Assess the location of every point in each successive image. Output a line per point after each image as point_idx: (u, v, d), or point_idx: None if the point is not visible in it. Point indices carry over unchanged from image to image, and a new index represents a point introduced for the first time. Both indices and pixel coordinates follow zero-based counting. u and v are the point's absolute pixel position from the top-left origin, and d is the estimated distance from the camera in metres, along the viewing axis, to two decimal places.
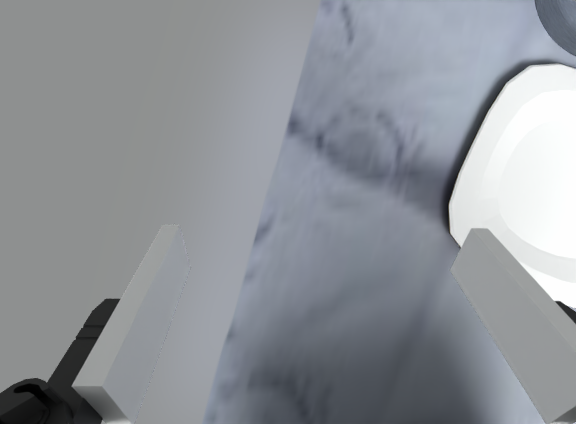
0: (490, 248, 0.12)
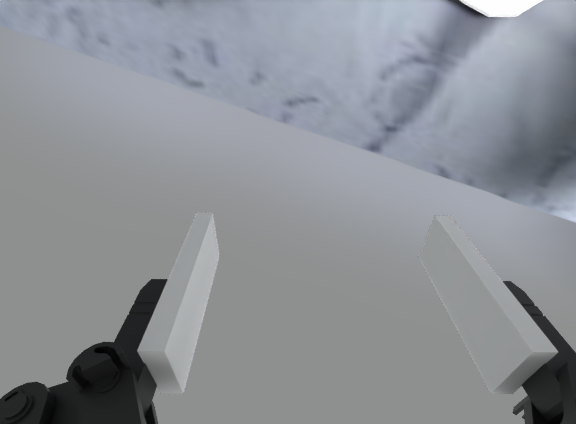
0: (449, 233, 0.12)
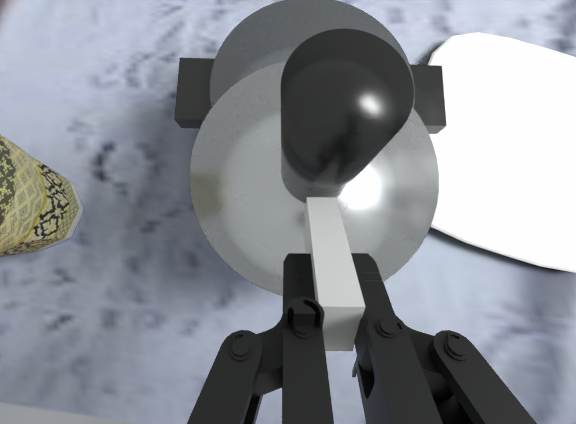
0: (326, 212, 0.13)
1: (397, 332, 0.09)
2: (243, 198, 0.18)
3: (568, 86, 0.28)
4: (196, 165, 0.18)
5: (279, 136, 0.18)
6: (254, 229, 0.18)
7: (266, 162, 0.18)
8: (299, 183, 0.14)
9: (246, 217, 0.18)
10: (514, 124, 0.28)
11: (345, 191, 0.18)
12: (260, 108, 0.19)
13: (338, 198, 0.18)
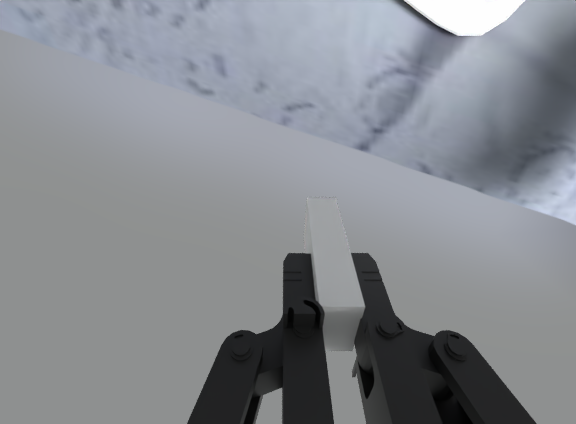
0: (326, 212, 0.13)
1: (397, 332, 0.09)
2: None
3: None
4: None
5: None
6: None
7: None
8: None
9: None
10: None
11: None
12: None
13: None
